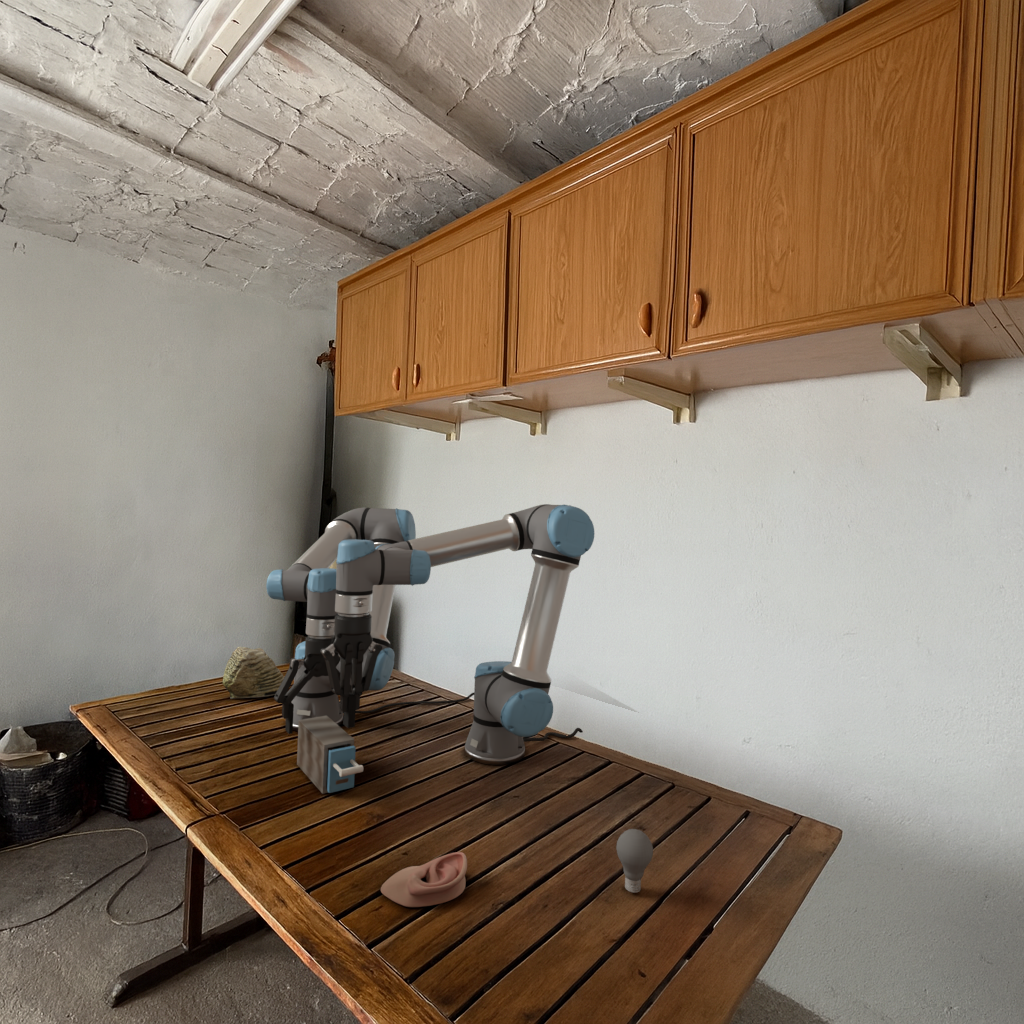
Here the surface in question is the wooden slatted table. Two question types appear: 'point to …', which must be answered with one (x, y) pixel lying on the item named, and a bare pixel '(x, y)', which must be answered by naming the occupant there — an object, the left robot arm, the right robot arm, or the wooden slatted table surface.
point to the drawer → (341, 768)
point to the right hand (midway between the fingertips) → (349, 725)
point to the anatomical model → (428, 882)
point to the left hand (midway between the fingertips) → (318, 727)
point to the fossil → (251, 674)
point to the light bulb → (634, 857)
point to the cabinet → (318, 747)
